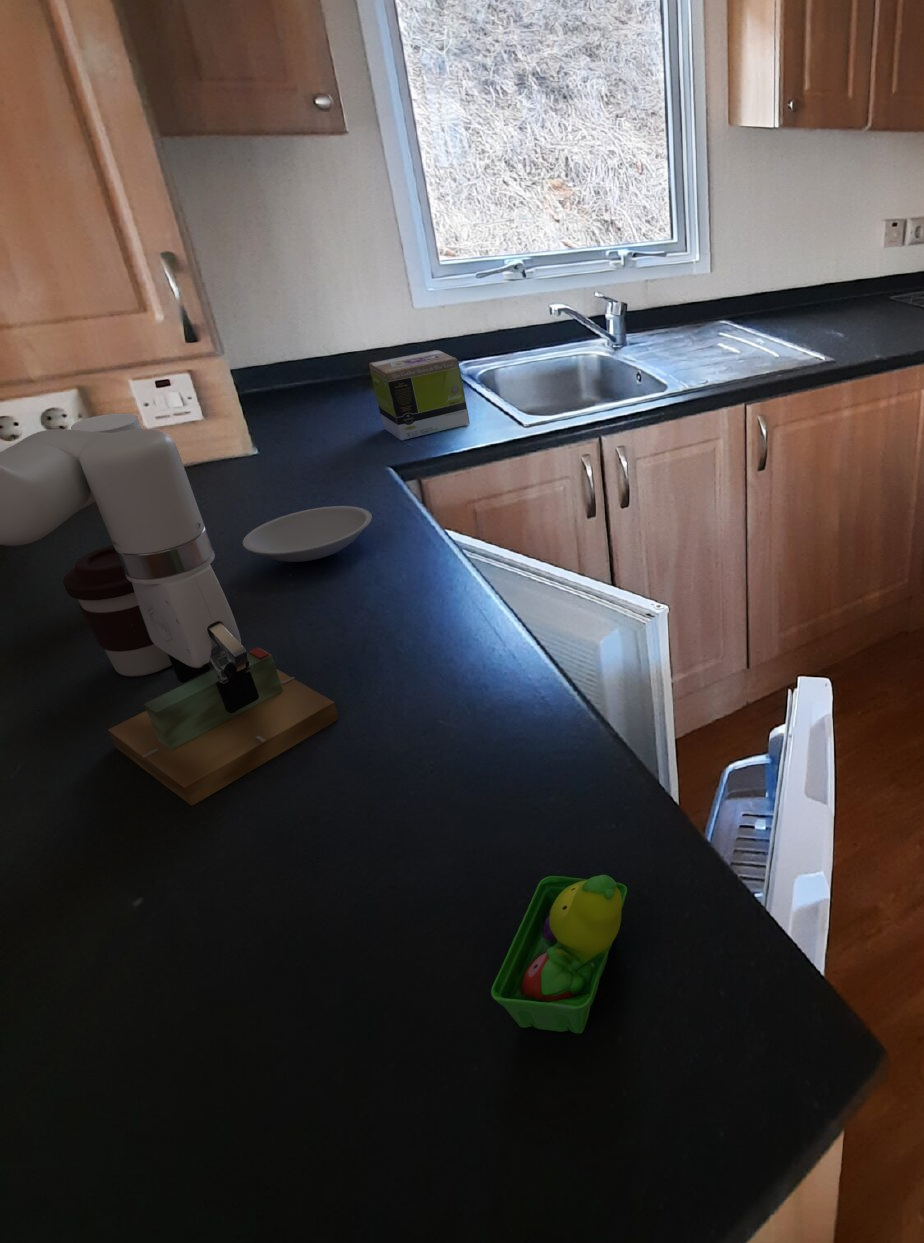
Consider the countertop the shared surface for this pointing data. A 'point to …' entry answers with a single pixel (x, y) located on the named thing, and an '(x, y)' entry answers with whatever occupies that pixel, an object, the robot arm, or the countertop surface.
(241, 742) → the base
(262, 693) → the green rectangular block
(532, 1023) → the fruit basket
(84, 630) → the countertop surface
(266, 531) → the dish
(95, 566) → the coffee cup
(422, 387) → the tea box
